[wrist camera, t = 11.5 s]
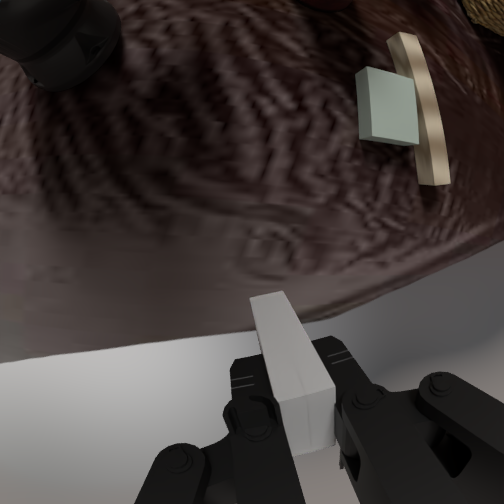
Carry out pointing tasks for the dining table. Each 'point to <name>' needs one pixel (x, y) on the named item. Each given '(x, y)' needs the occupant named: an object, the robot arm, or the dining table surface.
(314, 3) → the vase
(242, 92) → the dining table surface
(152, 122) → the dining table surface
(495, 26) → the basket
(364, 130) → the block
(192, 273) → the dining table surface
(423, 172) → the curved wooden bar
